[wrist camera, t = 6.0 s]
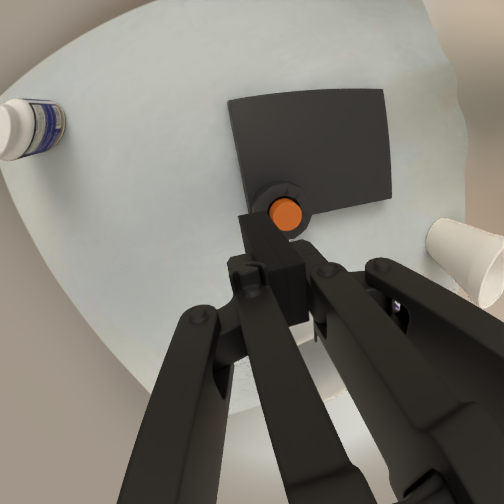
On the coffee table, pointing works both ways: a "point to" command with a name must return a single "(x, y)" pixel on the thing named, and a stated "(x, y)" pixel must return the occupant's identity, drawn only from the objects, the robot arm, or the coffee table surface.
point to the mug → (318, 361)
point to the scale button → (285, 214)
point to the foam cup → (469, 258)
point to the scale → (312, 150)
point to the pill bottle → (29, 127)
